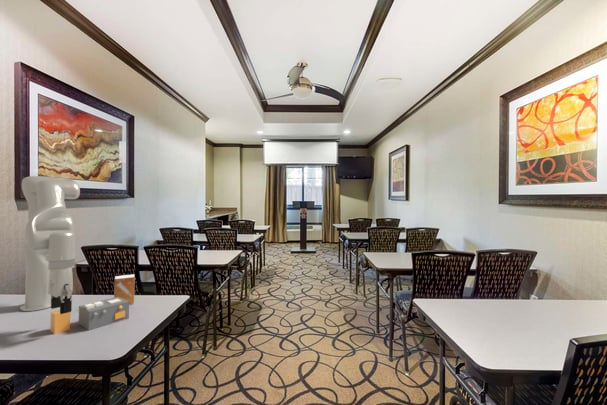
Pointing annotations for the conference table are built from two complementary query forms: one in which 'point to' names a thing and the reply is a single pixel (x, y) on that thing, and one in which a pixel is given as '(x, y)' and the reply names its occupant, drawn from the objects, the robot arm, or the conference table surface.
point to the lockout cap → (59, 322)
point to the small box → (125, 287)
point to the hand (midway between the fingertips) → (61, 310)
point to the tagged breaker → (114, 301)
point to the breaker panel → (103, 313)
